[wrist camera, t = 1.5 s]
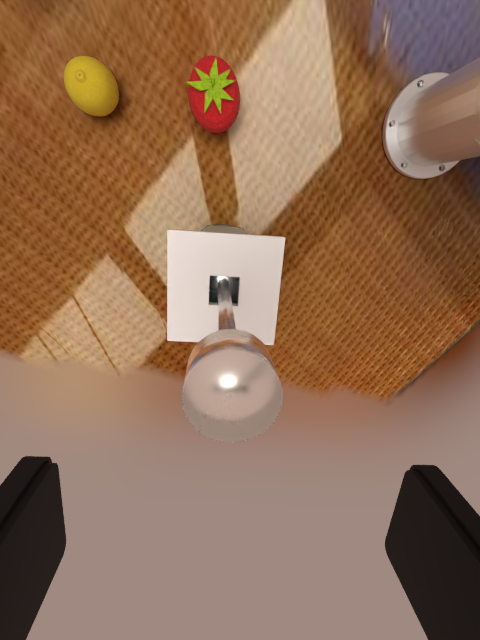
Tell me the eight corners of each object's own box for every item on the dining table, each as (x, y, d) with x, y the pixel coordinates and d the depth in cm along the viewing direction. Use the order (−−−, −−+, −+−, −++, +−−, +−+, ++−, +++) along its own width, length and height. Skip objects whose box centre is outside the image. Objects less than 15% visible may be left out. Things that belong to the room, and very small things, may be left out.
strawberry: (196, 143, 45) (190, 126, 35) (187, 77, 42) (178, 39, 33) (240, 138, 45) (246, 120, 35) (233, 72, 43) (238, 33, 33)
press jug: (254, 316, 53) (271, 365, 37) (183, 313, 52) (167, 361, 36) (262, 227, 49) (285, 237, 32) (184, 222, 48) (167, 229, 31)
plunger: (262, 248, 37) (336, 317, 14) (255, 317, 39) (310, 474, 16) (188, 243, 36) (136, 307, 13) (186, 314, 38) (141, 473, 16)
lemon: (120, 130, 44) (100, 113, 36) (77, 112, 43) (47, 92, 35) (130, 83, 42) (112, 56, 35) (86, 64, 41) (56, 32, 34)
